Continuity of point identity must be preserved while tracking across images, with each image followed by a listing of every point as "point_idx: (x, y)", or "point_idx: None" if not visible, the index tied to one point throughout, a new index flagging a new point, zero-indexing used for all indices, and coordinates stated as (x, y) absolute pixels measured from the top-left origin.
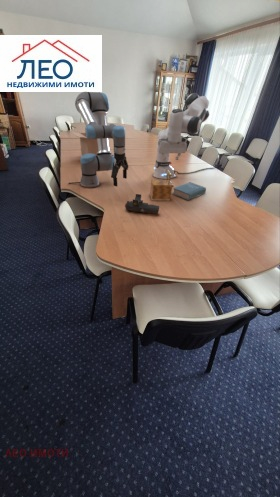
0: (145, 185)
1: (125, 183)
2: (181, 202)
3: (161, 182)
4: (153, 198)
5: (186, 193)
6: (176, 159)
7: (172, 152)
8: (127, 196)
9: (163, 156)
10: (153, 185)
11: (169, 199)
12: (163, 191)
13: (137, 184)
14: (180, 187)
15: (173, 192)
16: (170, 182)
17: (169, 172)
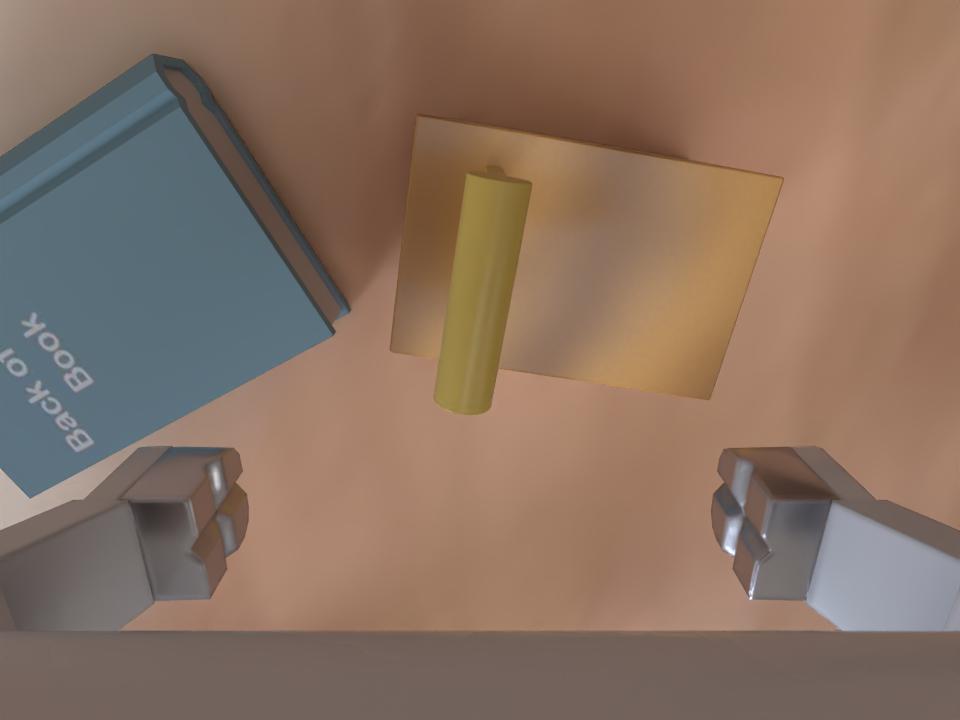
0: (585, 570)
1: None
2: (315, 29)
3: (588, 278)
4: (681, 158)
5: (191, 119)
6: (225, 449)
7: (500, 671)
8: (928, 316)
9: (953, 539)
10: (778, 181)
11: (463, 120)
12: (575, 140)
13: (662, 601)
14: (223, 337)
15: (338, 311)
16: (425, 260)
17: (470, 309)
